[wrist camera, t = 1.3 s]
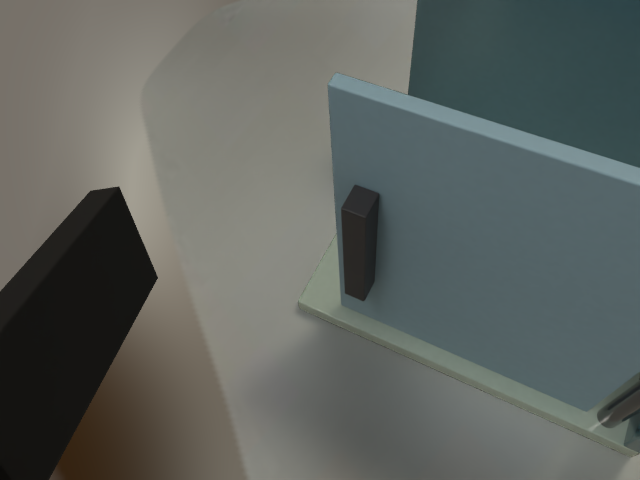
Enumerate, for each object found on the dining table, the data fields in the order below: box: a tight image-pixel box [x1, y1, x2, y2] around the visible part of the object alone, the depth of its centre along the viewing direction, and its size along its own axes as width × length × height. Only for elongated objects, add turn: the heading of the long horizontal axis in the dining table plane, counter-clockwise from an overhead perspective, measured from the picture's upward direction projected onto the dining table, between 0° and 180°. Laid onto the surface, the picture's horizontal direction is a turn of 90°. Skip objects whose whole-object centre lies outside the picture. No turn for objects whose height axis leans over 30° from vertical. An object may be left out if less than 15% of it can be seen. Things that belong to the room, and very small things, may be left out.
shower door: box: [328, 73, 640, 412], centre depth 22 cm, size 13×2×16 cm, turn 63°
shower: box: [298, 0, 640, 457], centre depth 25 cm, size 18×16×19 cm
